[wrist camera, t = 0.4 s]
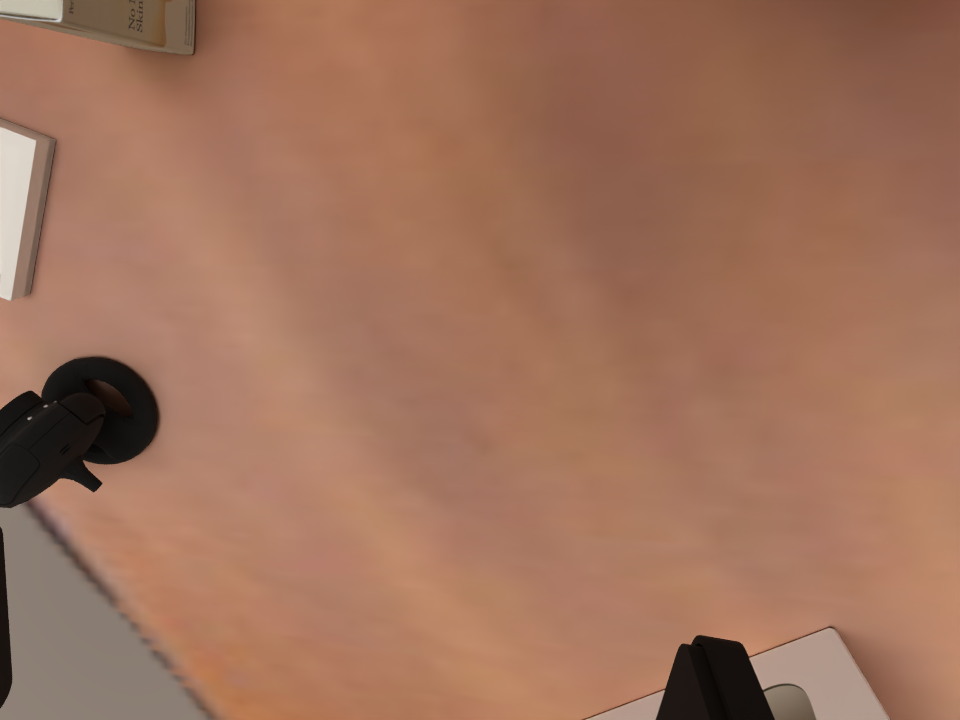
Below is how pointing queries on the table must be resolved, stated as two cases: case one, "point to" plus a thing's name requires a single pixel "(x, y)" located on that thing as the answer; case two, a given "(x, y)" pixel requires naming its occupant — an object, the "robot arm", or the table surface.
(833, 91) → the table surface
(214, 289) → the table surface
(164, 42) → the skincare box
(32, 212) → the tray
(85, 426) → the webcam
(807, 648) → the gable box
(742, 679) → the robot arm
